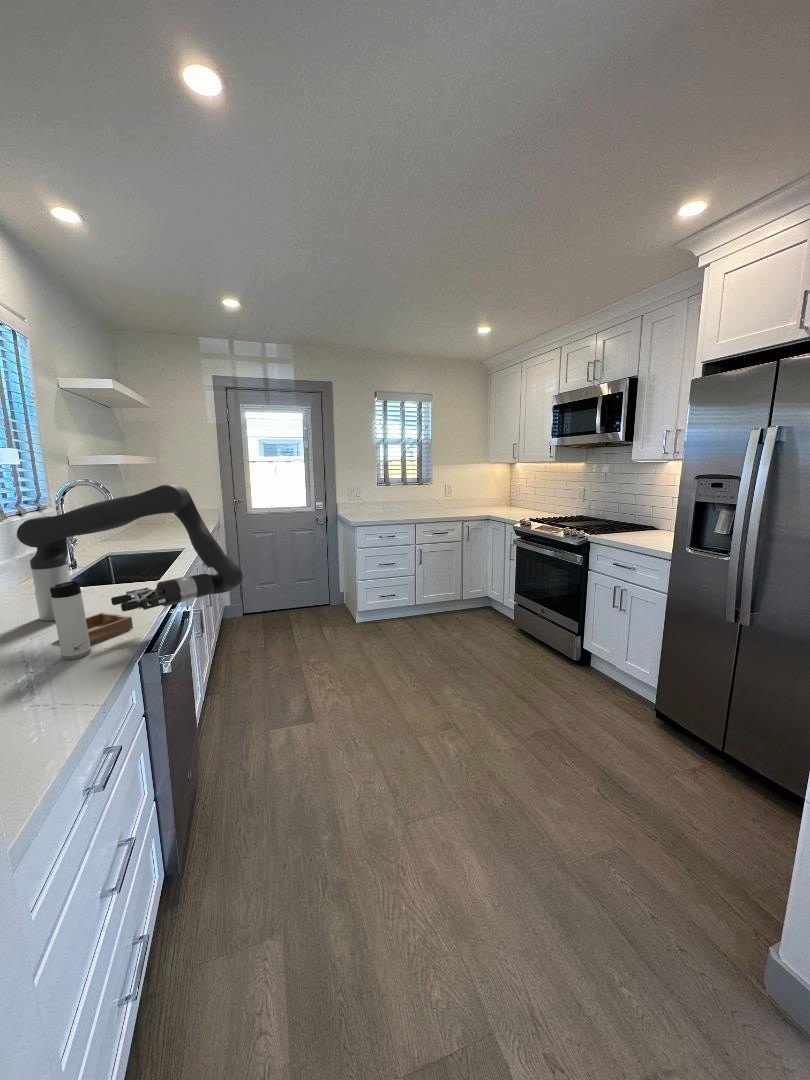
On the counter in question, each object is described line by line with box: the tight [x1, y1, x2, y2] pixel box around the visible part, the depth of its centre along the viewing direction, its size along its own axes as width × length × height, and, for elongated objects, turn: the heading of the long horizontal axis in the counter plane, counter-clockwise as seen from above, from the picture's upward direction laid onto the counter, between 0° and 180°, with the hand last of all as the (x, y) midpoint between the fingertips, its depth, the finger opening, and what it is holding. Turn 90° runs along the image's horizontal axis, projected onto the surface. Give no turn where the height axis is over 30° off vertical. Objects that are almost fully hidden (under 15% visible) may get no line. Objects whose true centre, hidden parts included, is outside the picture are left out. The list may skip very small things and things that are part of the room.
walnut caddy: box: [86, 612, 134, 645], centre depth 131 cm, size 13×13×4 cm
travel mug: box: [50, 579, 92, 661], centre depth 115 cm, size 6×7×20 cm
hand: (116, 604), depth 123 cm, fingers open, 8 cm apart
